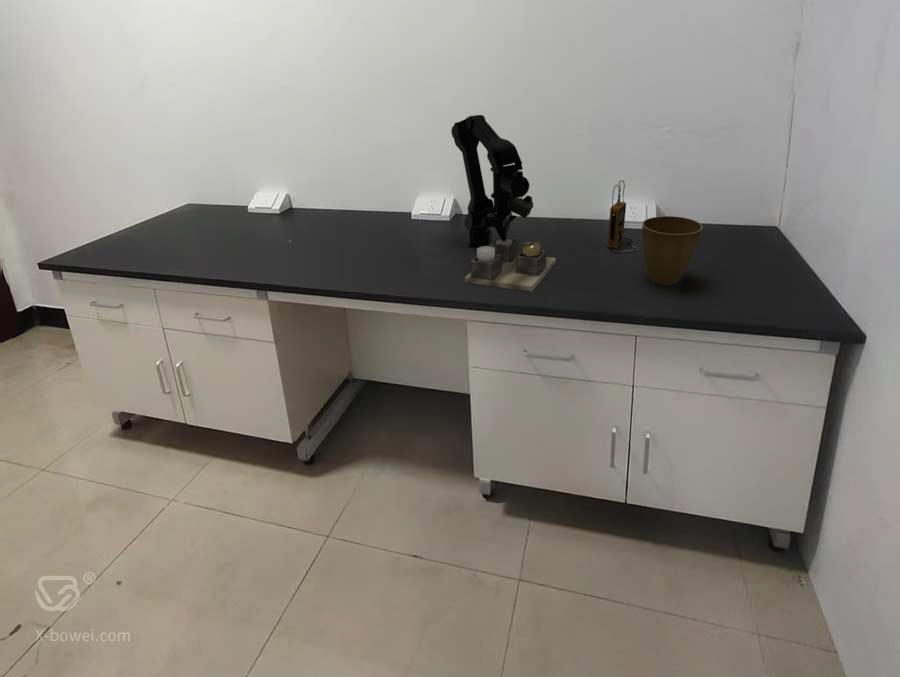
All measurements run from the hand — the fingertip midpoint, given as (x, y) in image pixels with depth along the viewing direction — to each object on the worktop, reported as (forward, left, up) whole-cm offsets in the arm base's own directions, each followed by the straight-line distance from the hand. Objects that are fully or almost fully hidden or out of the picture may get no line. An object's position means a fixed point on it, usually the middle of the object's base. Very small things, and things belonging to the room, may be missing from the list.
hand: (504, 240), depth 179 cm
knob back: (0, 0, -5) cm, 5 cm away
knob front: (0, -14, -3) cm, 14 cm away
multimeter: (+32, +24, -7) cm, 40 cm away
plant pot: (+47, +1, -7) cm, 48 cm away
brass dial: (+11, -7, -3) cm, 13 cm away
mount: (+5, -7, -7) cm, 11 cm away
